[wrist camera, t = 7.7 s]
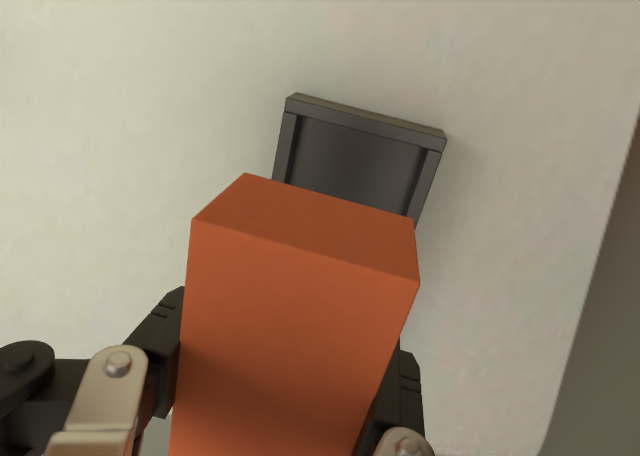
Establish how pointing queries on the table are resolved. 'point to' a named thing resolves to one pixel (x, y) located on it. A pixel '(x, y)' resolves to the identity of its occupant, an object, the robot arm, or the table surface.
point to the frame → (357, 155)
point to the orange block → (287, 320)
